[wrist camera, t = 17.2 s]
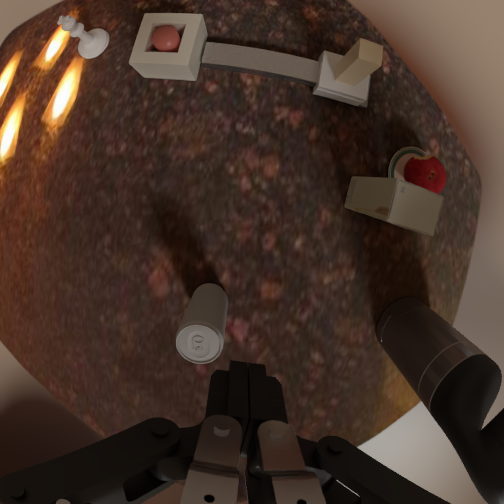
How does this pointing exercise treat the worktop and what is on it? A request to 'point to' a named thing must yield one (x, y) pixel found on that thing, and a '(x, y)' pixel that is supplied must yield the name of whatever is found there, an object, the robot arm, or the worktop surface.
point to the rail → (263, 64)
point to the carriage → (348, 72)
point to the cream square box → (169, 63)
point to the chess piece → (85, 37)
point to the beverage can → (203, 325)
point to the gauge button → (166, 39)
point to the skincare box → (395, 202)
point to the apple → (418, 169)
